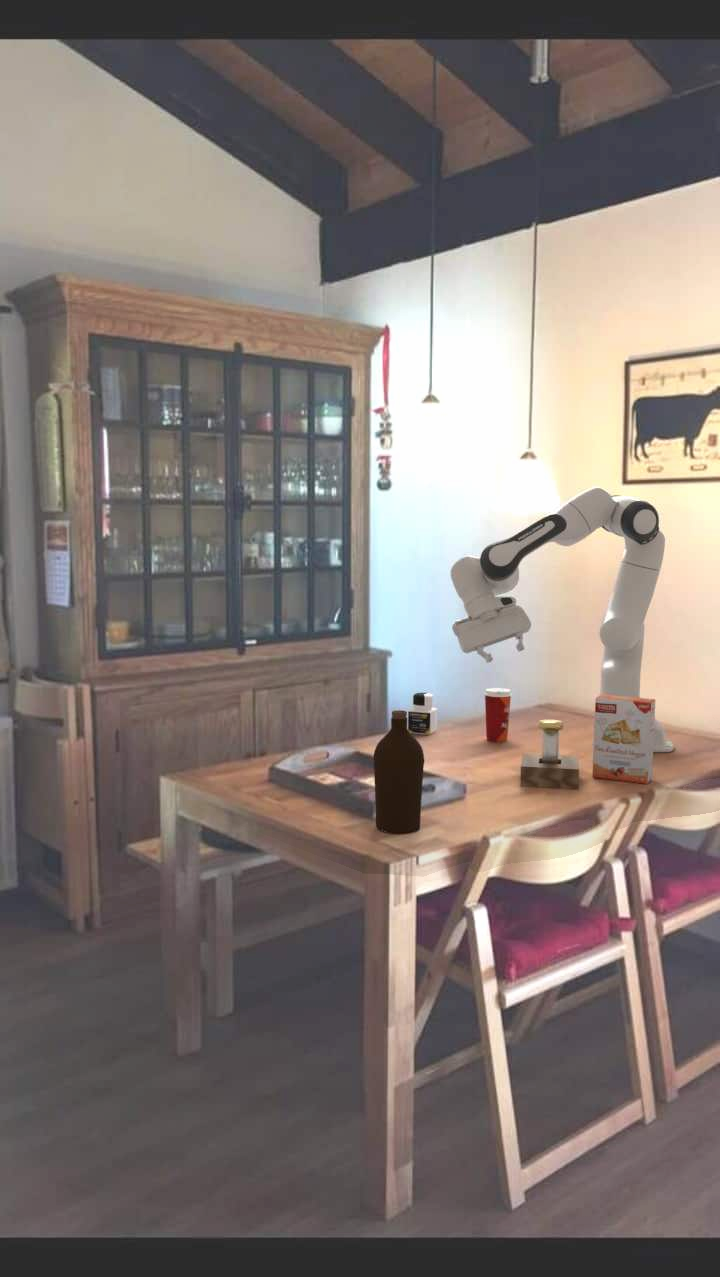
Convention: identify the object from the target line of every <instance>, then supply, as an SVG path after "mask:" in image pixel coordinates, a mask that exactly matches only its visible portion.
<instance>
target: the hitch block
mask: <svg viewBox="0 0 720 1277" xmlns="http://www.w3.org/2000/svg"><path fill="white" fill-rule="evenodd" d="M519 777H520V778H519V779H520V780H519V781H520V783H519V784H520V785H519V786H520V787H523V788H525V787H526V788H529V787H530V788H544V789H545V788H546V789H561V790H563V789H564V790H565V789H566V790H579V785H580V784H579V782H580V763H579V756H577V755H575V756H574V755H559V754H558V764H543V763H542V754H540V753H539V754H535V753H534V754H533V753H522V758H521V763H520V776H519Z"/></svg>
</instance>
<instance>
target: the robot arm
mask: <svg viewBox="0 0 720 1277" xmlns="http://www.w3.org/2000/svg"><path fill="white" fill-rule="evenodd" d="M659 525H660V518H659V514H658V511H657V509H656V508H655V506H653V505H652V504H651V503H649V502H647V501H645V500H641V499H639V498H636V497H633V496H622V495H617V494H616V495H612V494H610V492H609V491H608V490H606V489H604V488H603V487H600V486H595V487H590V488H588V489H587V490H584V491H583V492H581V493H579V494H577V495H574V497H572V498H570V499H569V500H568V501H566V502H565V503H563V504H562V505H560V506H559V507H558V508H556V509H555V510H553V511H552V512H551V513H549V514H547V515H546V516H544V517H543V518H540V519H538V520H537V521H536V522H534V523H532V524H531V525H529V526H528V527H526V528H524V529H522V530H521V531H519V532H518V533H516V534H514V535H512V536H510V537H509V538H506V539H501V540H498V541H494V542H492V543H490V544H489V545H486V547H485V548H484V549H483V550H482V552H481V553H480V557H477V556H472V555H466V556H463V557H460V558H459V559H458V560H457V561H456V562H454V564H453V566H452V567H451V570H450V578H451V582H452V584H453V587H454V589H455V592H456V594H457V596H458V597H459V598H460V599H461V601H462V603H463V607H464V610H465V612H466V615H467V616H466V617H464V618H463V619H459V620H456V621H454V623H453V624H452V627H451V629H452V632H453V634H454V635H455V636H456V637H457V640H458V643H459V644H458V645H459V647H460V649H461V651H462V653H464V654H469V653H472V652H476V653H477V654H478V655H479V656H480V657H482V658H483V659H484V660H485V662H486V663H487V664H488V663H490V662H493V660H494V659H493V656H492V654H491V653H487V652H485V651H484V648H487V647H489V646H493V645H495V644H498V643H501V642H503V641H506V640H509V639H512V638H515V640H518V643H517V644H516V645H515V647H516V649H517V651H518V652H521V651H524V650H525V646H524V644H523V639H524V636H523V634H526V633H528V632H529V631H530V629H531V627H532V622H531V620H530V618H529V615H528V614H527V613H526V611H525V610H524V608H523V607H522V606H520V605H519V604H517V600H516V597H515V596H499V595H501V594H505V593H508V592H510V591H512V590H513V589H514V588H516V586H517V585H518V583H519V580H520V569H519V566H520V564H521V562H522V560H523V559H524V558H526V557H527V556H528V555H530V554H532V553H534V552H535V551H537V550H538V549H540V548H542V547H543V546H545V545H546V544H549V543H555V544H557V545H558V546H559V545H560V546H563V547H570V546H574V545H576V544H577V543H579V542H581V541H584V539H586V538H587V537H589V536H590V535H591V534H593V533H594V532H595V531H596V530H597V529H600V528H602V529H604V530H605V531H606V532H608V533H611V534H614V535H616V536H618V537H622V538H623V539H624V546H625V547H624V551H623V554H622V557H621V560H620V564H619V568H618V571H617V574H616V578H615V582H614V586H613V589H612V591H611V594H610V597H609V600H608V603H607V605H606V609H605V612H604V615H603V617H602V620H601V623H600V627H599V632H598V633H599V638H600V641H601V643H602V644H603V655H602V656H603V657H602V663H601V668H600V694H599V695H601V694H602V695H614V696H624V697H635V698H641V697H640V695H641V669H642V660H643V654H644V653H643V650H644V641H645V640H644V638H645V623H644V622H645V619H646V616H647V613H648V610H649V608H650V605H651V603H652V599H653V596H654V594H655V593H654V592H655V589H656V586H657V583H658V579H659V576H660V571H661V568H662V564H663V560H664V556H665V555H664V554H665V547H666V537H665V534H664V533H663V532H662V531H661V530H660V527H659ZM666 737H667V736H666V731H665V727H664V725H663V724H662V723H661V722H660V721H658V720H657V719H656V718H655V722H654V745H653V753H670V752H673V751H674V744H673V742H672V741H670V740H668V739H667V738H666ZM592 744H593V745H594V740H593V742H592Z"/></svg>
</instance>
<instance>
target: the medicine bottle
mask: <svg viewBox="0 0 720 1277" xmlns="http://www.w3.org/2000/svg"><path fill="white" fill-rule="evenodd" d="M407 713H408V714H407V730H408V731H409V732H410V733H411V734H412V735H413V734H416V735H426V736H430V735H432V734H434V733H435V732H437V731H438V708H436V707H434V695H433V694H432V693H429V692H415V693H414V694H413V695H412V708H411V709H408V711H407Z"/></svg>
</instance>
